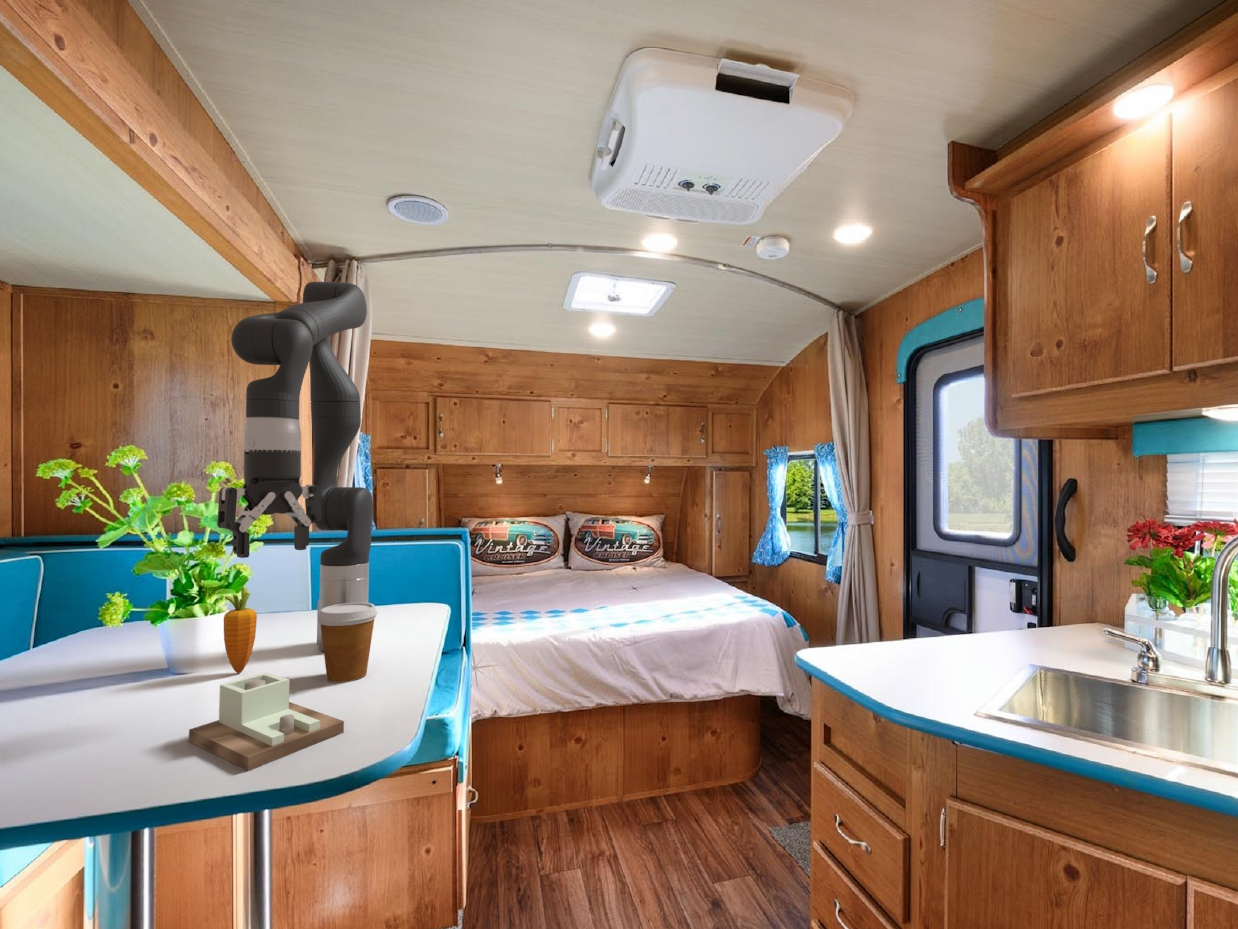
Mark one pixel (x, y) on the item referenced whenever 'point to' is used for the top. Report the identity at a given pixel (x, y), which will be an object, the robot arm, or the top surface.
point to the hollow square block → (260, 708)
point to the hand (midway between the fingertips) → (272, 553)
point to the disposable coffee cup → (347, 639)
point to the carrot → (239, 631)
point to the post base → (256, 752)
